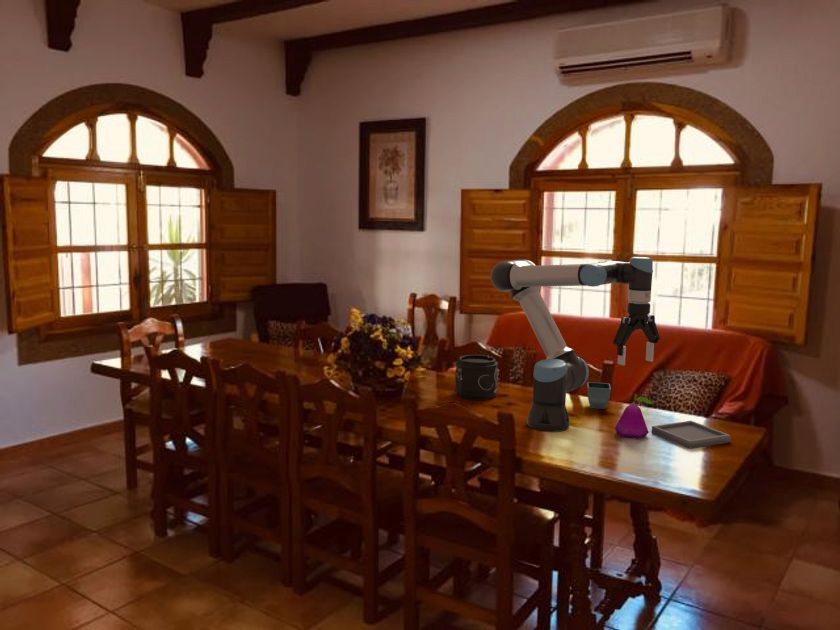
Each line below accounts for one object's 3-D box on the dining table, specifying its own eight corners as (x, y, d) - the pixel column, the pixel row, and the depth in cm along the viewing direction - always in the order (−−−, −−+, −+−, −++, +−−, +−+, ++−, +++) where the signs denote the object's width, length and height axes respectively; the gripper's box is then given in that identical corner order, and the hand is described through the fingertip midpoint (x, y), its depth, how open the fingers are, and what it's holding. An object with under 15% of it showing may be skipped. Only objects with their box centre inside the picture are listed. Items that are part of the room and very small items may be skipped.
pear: (630, 441, 244) (633, 398, 242) (608, 432, 254) (610, 391, 251) (655, 437, 249) (657, 395, 247) (632, 428, 259) (634, 387, 256)
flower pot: (609, 411, 280) (611, 388, 279) (586, 409, 282) (587, 387, 281) (608, 405, 289) (609, 383, 288) (586, 403, 291) (587, 381, 289)
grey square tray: (689, 448, 237) (689, 441, 237) (651, 433, 254) (651, 426, 253) (730, 442, 245) (730, 435, 244) (690, 427, 261) (691, 420, 260)
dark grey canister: (505, 393, 304) (506, 357, 302) (485, 403, 290) (486, 364, 287) (468, 387, 314) (468, 352, 312) (447, 396, 299) (447, 359, 297)
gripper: (620, 305, 238) (617, 368, 242) (673, 301, 251) (668, 361, 254) (604, 302, 245) (601, 364, 248) (656, 299, 257) (652, 357, 260)
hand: (635, 362), depth 251 cm, fingers open, 13 cm apart
